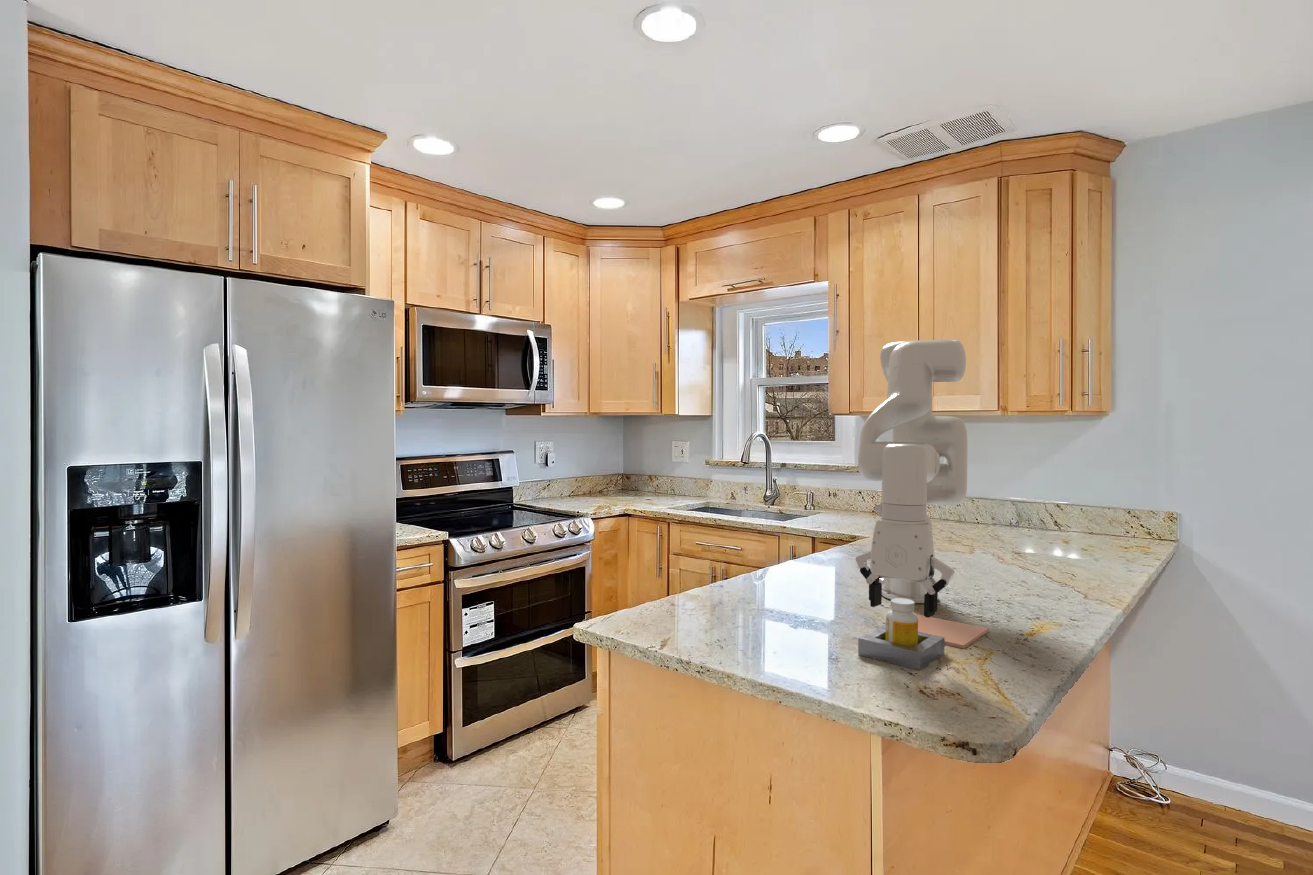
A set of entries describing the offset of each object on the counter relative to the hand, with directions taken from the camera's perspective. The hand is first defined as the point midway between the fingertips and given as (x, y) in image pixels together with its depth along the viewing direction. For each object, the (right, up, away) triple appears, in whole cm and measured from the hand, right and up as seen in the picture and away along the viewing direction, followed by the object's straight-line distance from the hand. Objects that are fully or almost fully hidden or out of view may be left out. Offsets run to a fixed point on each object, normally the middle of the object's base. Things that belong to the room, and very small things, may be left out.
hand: (902, 610), depth 122 cm
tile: (+12, -8, +14) cm, 20 cm away
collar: (0, -8, +1) cm, 8 cm away
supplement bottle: (0, -8, +1) cm, 8 cm away
